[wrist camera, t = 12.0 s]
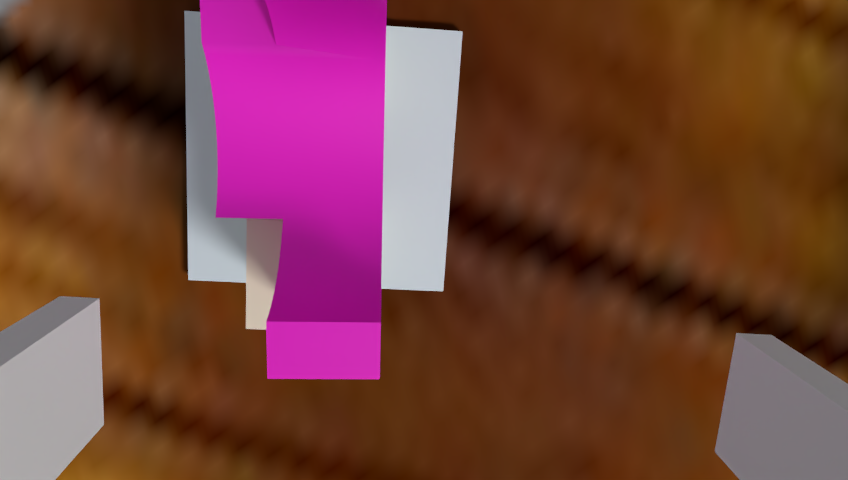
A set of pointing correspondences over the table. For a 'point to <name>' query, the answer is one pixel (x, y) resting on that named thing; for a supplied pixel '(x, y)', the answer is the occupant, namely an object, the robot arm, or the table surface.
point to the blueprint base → (402, 173)
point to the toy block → (306, 167)
